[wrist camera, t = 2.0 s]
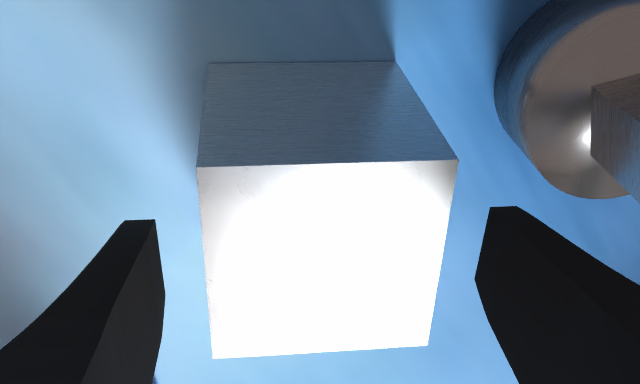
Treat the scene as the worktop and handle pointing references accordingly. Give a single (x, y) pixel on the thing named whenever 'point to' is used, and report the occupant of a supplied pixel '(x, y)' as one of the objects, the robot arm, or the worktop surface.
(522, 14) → the worktop surface
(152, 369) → the robot arm
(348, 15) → the worktop surface
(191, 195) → the worktop surface
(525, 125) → the ratchet
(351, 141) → the brushed white cube
